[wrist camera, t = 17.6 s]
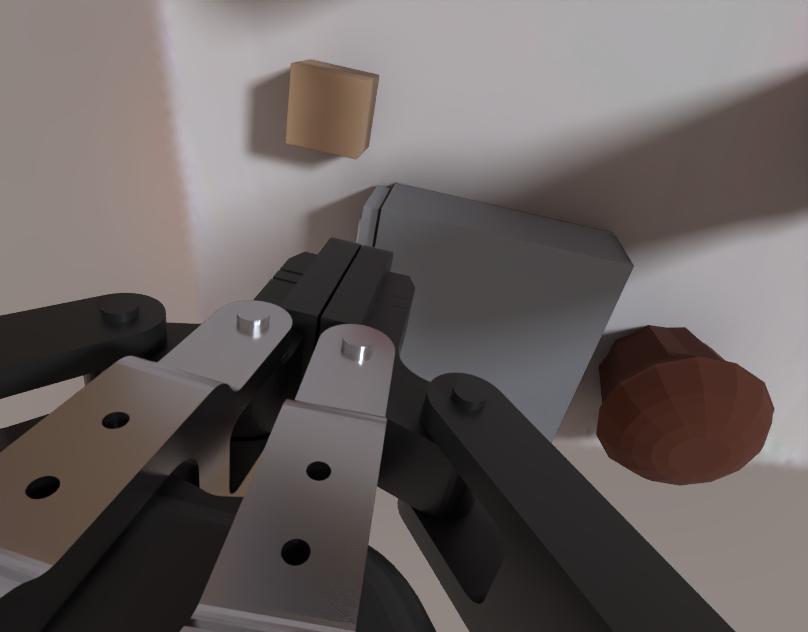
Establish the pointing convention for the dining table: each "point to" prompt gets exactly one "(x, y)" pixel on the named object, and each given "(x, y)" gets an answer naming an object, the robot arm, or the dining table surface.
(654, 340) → the muffin
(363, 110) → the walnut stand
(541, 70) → the dining table surface
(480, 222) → the block
